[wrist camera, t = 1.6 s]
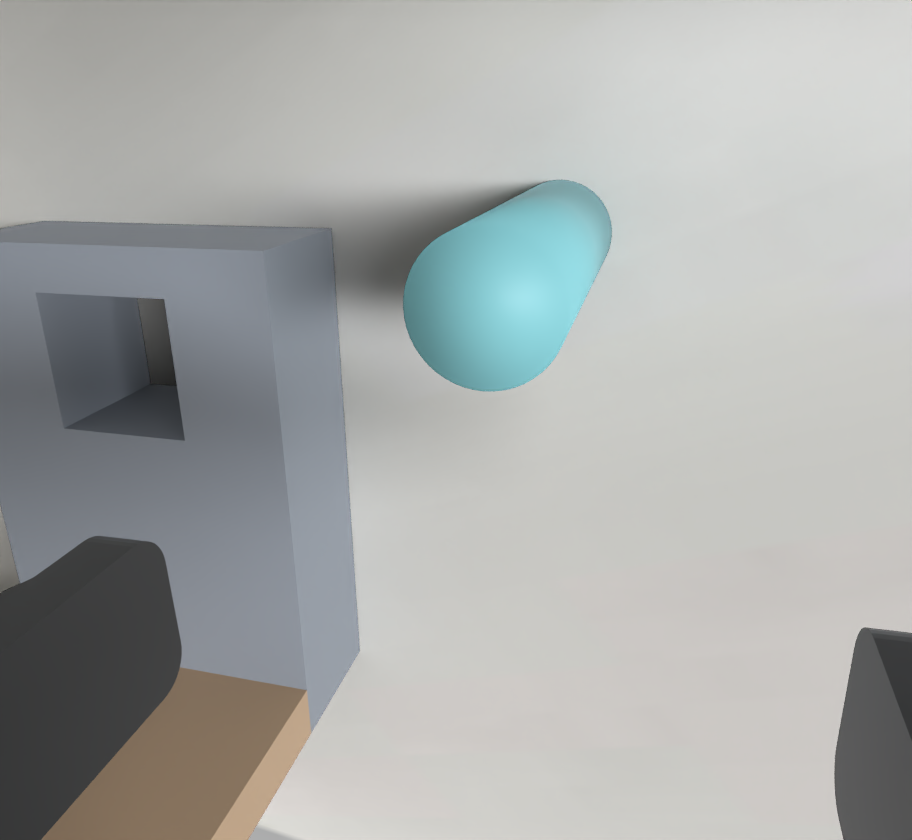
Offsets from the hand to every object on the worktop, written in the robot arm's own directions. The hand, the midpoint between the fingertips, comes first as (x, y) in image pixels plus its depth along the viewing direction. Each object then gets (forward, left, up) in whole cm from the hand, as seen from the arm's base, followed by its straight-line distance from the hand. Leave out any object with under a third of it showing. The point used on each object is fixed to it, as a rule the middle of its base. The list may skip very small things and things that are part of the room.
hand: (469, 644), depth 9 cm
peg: (-2, -2, -19) cm, 19 cm away
